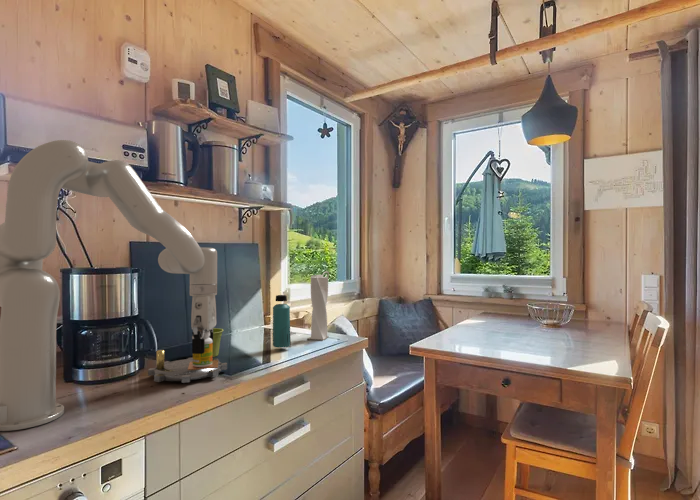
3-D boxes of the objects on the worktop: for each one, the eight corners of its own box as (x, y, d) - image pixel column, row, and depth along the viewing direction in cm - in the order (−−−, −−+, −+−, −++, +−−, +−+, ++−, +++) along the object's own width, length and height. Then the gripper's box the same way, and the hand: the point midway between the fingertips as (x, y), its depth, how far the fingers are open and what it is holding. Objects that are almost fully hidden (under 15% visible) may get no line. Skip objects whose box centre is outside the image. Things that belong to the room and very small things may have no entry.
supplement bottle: (200, 368, 114) (201, 333, 114) (188, 365, 116) (188, 331, 117) (216, 364, 118) (216, 330, 118) (204, 361, 121) (204, 329, 121)
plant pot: (214, 360, 134) (214, 333, 134) (188, 358, 136) (188, 332, 136) (228, 353, 143) (228, 328, 143) (204, 352, 145) (204, 327, 145)
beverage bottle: (288, 351, 145) (289, 295, 146) (270, 351, 146) (270, 295, 146) (291, 347, 152) (291, 294, 152) (274, 347, 152) (274, 294, 152)
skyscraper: (331, 337, 171) (332, 271, 172) (326, 341, 163) (326, 271, 164) (312, 336, 173) (313, 270, 174) (306, 340, 165) (306, 271, 166)
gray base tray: (227, 378, 110) (227, 354, 110) (141, 386, 104) (141, 360, 104) (226, 359, 130) (226, 339, 130) (154, 365, 124) (154, 343, 124)
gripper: (209, 292, 109) (208, 356, 109) (223, 287, 127) (223, 342, 126) (180, 292, 109) (179, 357, 109) (198, 287, 126) (198, 343, 126)
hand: (203, 349), depth 118 cm, fingers open, 9 cm apart
